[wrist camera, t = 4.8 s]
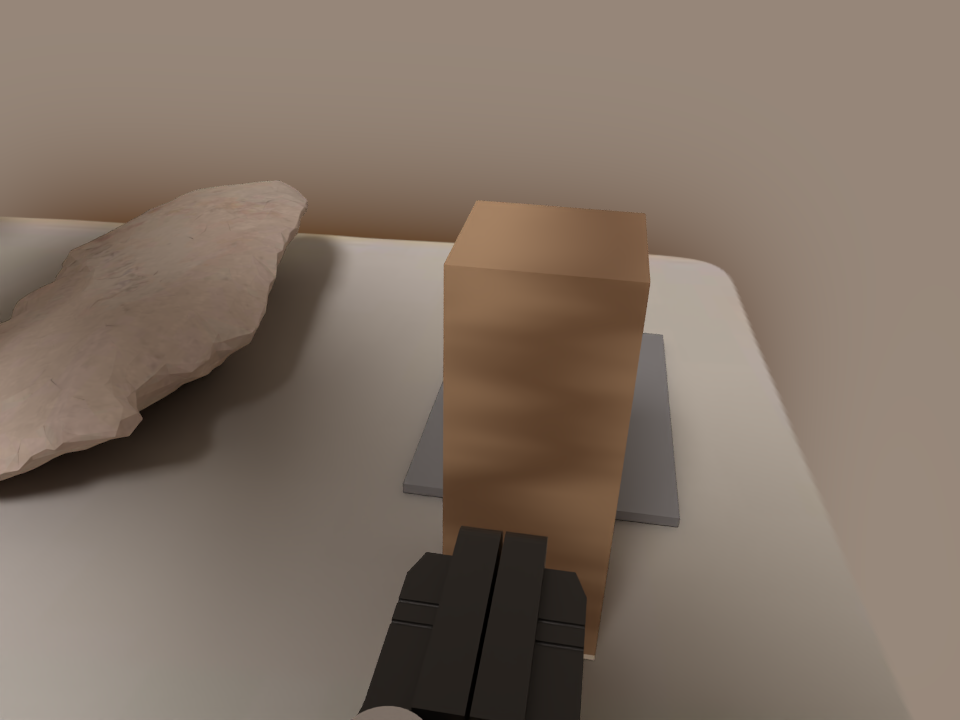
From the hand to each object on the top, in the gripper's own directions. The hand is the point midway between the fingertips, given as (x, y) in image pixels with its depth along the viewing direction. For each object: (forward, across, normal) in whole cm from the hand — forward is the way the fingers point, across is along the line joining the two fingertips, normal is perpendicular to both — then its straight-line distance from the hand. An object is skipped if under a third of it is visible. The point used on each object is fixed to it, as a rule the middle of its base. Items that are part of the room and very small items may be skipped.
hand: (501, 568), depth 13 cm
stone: (+20, +19, +10) cm, 29 cm away
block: (+8, 0, +9) cm, 12 cm away
